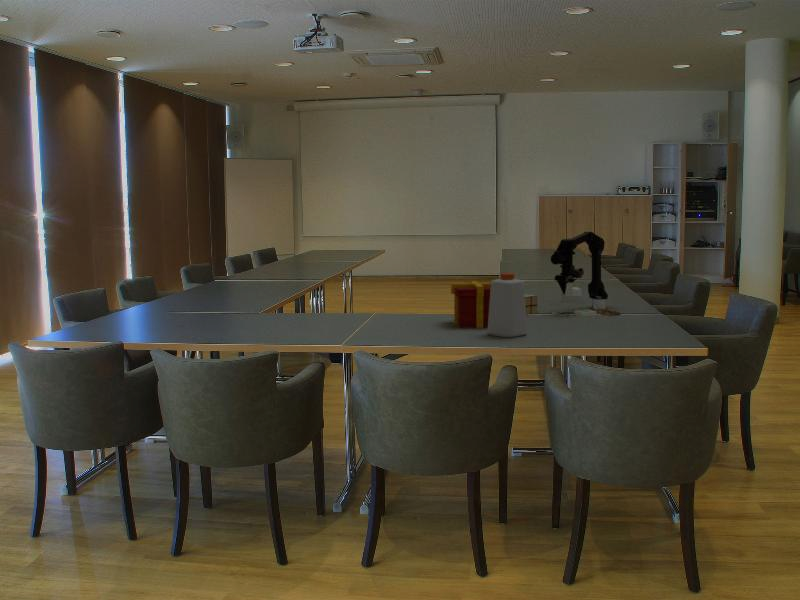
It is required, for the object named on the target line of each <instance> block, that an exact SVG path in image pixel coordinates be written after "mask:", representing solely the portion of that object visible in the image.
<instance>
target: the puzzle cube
mask: <svg viewBox="0 0 800 600" xmlns="http://www.w3.org/2000/svg"><path fill="white" fill-rule="evenodd" d="M525 309H526V315H531V314H532V315H533V314H537V313H538V295H536V294H528V293H525Z"/></svg>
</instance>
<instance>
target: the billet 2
mask: <svg viewBox="0 0 800 600" xmlns="http://www.w3.org/2000/svg"><path fill="white" fill-rule="evenodd" d="M606 300H607V299H593V298H592V309H593V310H597V311H600V310H605V309H606Z"/></svg>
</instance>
